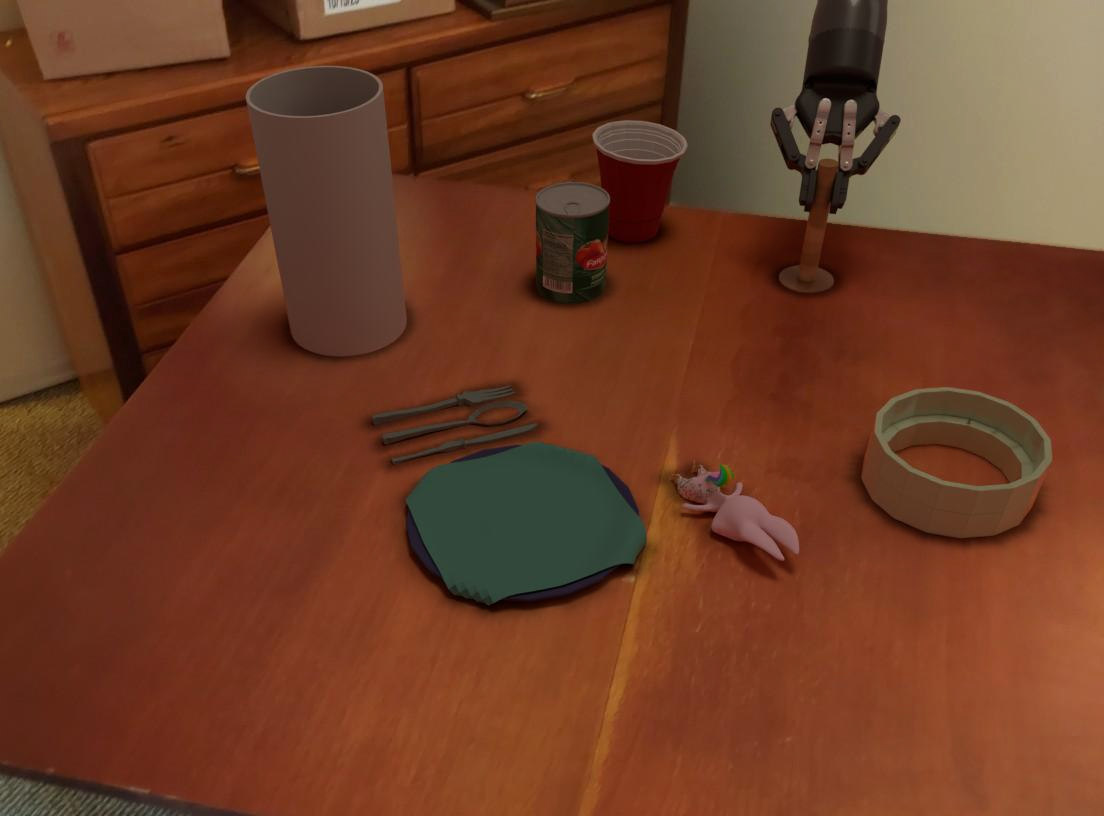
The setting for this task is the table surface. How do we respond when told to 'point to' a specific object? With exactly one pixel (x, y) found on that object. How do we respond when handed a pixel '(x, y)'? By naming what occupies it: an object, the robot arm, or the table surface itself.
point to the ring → (967, 426)
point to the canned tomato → (571, 242)
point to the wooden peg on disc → (814, 237)
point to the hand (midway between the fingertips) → (820, 209)
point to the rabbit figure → (735, 511)
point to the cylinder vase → (331, 206)
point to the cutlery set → (515, 512)
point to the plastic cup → (637, 174)
